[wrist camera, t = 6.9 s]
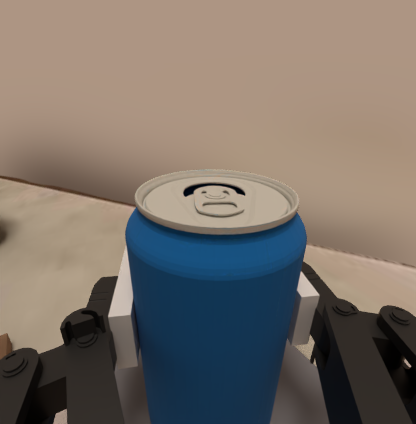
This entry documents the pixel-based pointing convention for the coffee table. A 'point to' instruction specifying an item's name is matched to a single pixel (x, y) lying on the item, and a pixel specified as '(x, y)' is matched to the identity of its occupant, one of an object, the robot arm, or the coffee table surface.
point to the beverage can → (214, 292)
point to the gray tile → (283, 405)
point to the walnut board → (5, 345)
